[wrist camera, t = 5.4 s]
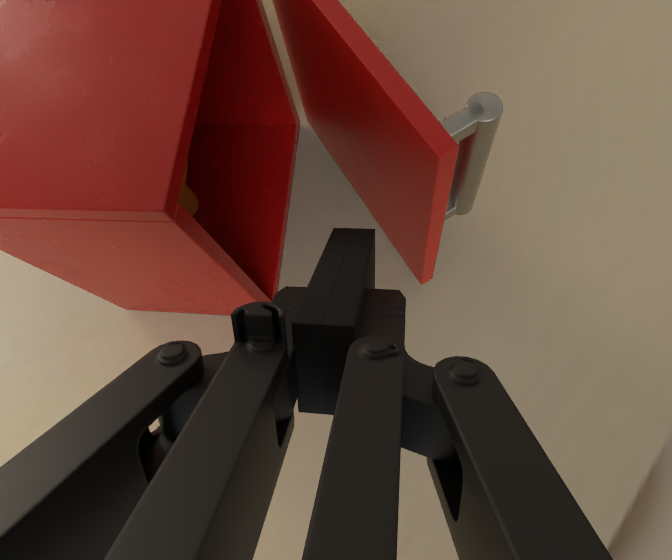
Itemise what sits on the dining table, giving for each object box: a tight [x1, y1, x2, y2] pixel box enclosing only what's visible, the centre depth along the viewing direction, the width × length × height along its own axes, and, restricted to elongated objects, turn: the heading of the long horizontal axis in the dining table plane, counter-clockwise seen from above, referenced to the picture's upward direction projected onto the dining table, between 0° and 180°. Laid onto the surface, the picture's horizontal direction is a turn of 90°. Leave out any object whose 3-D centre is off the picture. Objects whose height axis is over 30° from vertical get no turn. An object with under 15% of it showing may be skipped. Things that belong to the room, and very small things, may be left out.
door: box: [273, 0, 503, 284], centre depth 23 cm, size 4×14×13 cm, turn 30°
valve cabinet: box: [0, 0, 300, 316], centre depth 24 cm, size 10×14×14 cm
